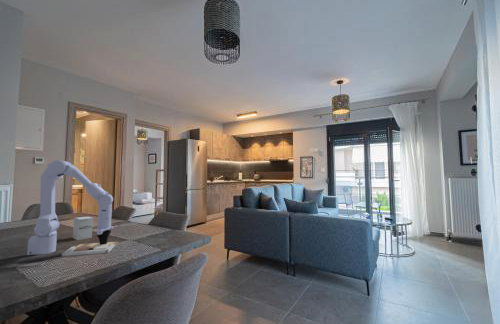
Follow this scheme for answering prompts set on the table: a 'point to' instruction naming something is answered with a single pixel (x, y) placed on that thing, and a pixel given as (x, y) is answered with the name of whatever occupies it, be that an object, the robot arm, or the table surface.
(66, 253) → the grey tray
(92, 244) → the oak board
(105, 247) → the cream tile
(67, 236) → the table surface
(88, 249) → the terracotta tile
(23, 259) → the table surface
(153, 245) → the table surface
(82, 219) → the supplement box
